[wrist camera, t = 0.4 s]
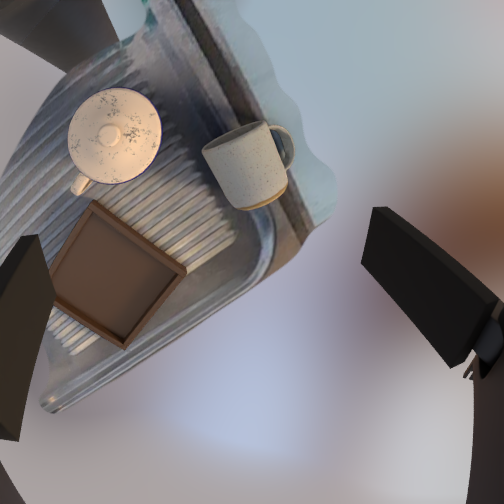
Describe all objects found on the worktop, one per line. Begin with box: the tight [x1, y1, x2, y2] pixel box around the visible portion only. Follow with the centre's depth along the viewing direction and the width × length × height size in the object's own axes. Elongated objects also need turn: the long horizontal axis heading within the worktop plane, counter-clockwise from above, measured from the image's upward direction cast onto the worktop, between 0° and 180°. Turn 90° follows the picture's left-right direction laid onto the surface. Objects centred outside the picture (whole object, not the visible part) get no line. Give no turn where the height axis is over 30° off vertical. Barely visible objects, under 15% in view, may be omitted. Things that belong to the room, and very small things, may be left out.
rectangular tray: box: [48, 200, 187, 350], centre depth 38 cm, size 15×15×2 cm
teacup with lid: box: [68, 87, 163, 195], centre depth 28 cm, size 12×9×12 cm
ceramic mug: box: [202, 120, 295, 210], centre depth 35 cm, size 11×8×8 cm
